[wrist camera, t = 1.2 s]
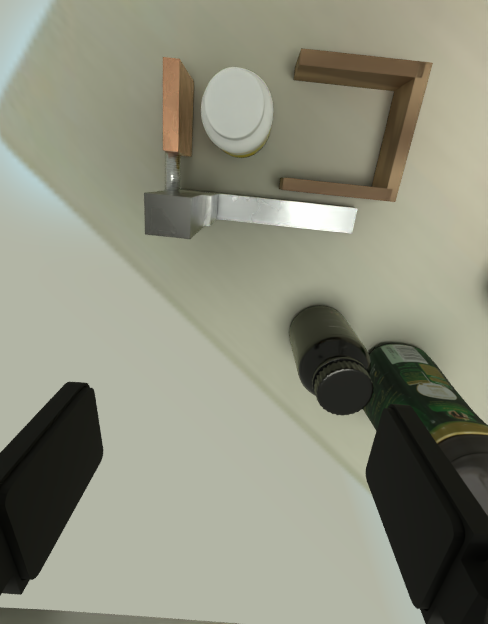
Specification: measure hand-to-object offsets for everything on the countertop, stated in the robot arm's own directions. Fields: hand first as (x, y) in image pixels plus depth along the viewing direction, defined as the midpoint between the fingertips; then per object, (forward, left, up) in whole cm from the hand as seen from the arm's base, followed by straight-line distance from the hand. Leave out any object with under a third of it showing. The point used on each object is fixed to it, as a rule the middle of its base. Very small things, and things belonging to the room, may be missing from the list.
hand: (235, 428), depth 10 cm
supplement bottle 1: (-12, -2, -26) cm, 29 cm away
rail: (-5, +1, -26) cm, 26 cm away
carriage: (-9, -6, -25) cm, 28 cm away
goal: (-12, +7, -26) cm, 29 cm away
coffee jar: (+13, +19, -26) cm, 35 cm away
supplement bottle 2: (+8, +9, -26) cm, 29 cm away
